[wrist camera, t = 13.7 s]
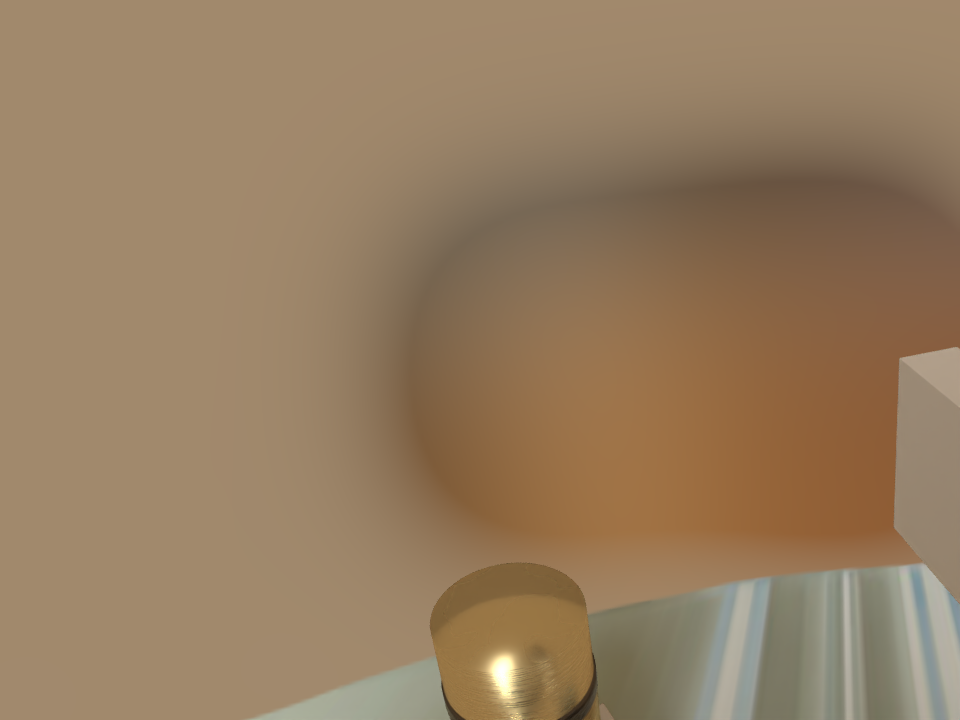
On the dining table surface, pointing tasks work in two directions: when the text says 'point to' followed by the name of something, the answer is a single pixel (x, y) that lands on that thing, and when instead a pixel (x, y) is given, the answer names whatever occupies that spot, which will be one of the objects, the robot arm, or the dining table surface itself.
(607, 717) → the divided compartment tray
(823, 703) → the dining table surface
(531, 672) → the tube
